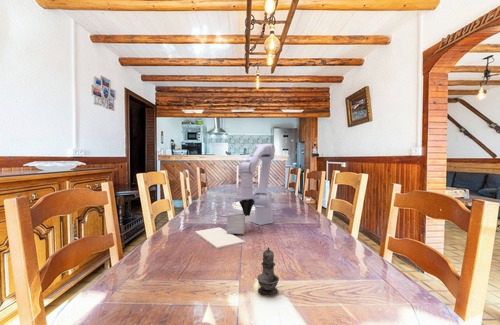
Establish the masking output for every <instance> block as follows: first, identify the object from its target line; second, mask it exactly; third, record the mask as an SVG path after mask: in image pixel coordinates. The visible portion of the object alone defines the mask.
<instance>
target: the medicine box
mask: <svg viewBox="0 0 500 325" xmlns="http://www.w3.org/2000/svg"><path fill="white" fill-rule="evenodd" d="M226 222H227V223H226V224H227V225H226V231H227V233H231V234H233V235H234V234H235V235H244V233H245V227H246V226H245V224H246V216H245V214H244V213H232V212H230V213H228V214H227V219H226Z"/></svg>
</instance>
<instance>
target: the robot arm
mask: <svg viewBox="0 0 500 325" xmlns="http://www.w3.org/2000/svg"><path fill="white" fill-rule="evenodd" d="M275 153H276V149H275V144H274V143H256V145H255V150H254V152H253V153H250V154H249V156H248V157H247V158H246V159H245V161H243V162H241V163H240V164H239V166H238V172H239V177H240V195H239V196H233V197H232V202H234V203H236V202H239V204H240V206H241V209H242V212H243V213H242V214H245V217H248V216H250V215H251V211H252V209H253V207H254V220H252V221H251V222H252V223H254V224H256V225H259V226H263V225H267V224H269V225H270V224H274V220H273V219H274V218H273V217H274V216H273V215H274V214H273V213H274V211H273V207H272V206H271V205H272V202H273V200H272V199H273V198H272V195H273V194H272V193H271V191H270V190H269V189H268V187H269V178H270V171H271V163H272V161H273V160H275V159H274V158H275ZM260 160H261V169H260V174H259V175H260V176H259V183H258V188H256V189H255V190H254V174H255V172H256V168H257V166H258V165H259V163H260Z"/></svg>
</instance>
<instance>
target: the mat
mask: <svg viewBox="0 0 500 325" xmlns="http://www.w3.org/2000/svg"><path fill="white" fill-rule="evenodd" d="M194 233H195V234H196V235H197V236H199V237H200V238H202V239H203V240H204V241H206V242H207V243H208V244H210V245H211V246H213V247H214V248H215V249H222V248H226V247H231V246H235V245H240V244H244V243H246V241H245V240H243V239H242V238H241V237H238V236H236V234H235V235H234V234H233V233H227V229H223V228H221V227H213V228H212V227H211V228H207V229H202V230H201V229H200V230H195V231H194Z"/></svg>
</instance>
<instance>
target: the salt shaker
mask: <svg viewBox="0 0 500 325" xmlns="http://www.w3.org/2000/svg"><path fill="white" fill-rule="evenodd" d="M274 257H275V256H274V251H272V250H270V247H267V248H266V250H264V251H263V253H262V262H261V266H262V272H261V273H259V274H258V275H257V278H256V279H257V281H258V284H259V288H257V289H258V290H257V292H258V294H260V296H263V297H267V298H268V297H269V298H271V297H275V296H276V295H277V294H278V292H279V290H278V288H277V285H278V283H279V281H280V277H279V276H278V275H277V274H276V273H275V268H274V267H275V266H276V263H275V261H274V259H275V258H274Z"/></svg>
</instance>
